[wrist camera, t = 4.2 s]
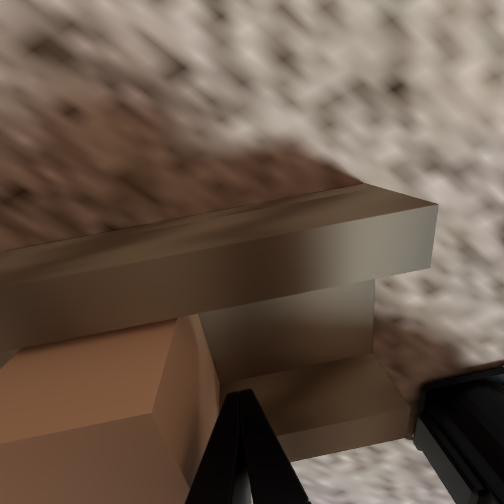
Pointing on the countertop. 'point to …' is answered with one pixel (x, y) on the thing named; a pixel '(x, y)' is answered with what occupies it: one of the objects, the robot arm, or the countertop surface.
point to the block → (108, 416)
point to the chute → (246, 302)
